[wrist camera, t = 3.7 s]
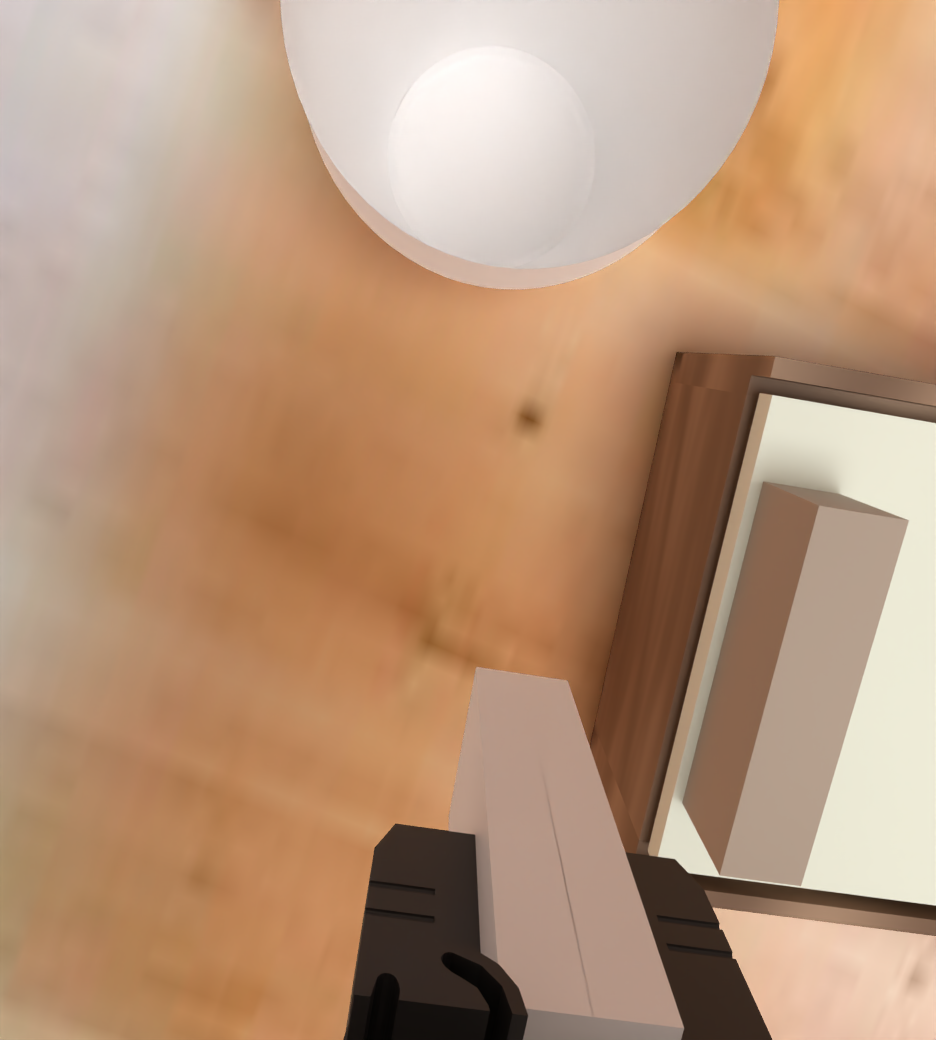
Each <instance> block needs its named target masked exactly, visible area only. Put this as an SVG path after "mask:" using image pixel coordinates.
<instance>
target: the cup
mask: <svg viewBox="0 0 936 1040" xmlns="http://www.w3.org/2000/svg"><path fill="white" fill-rule="evenodd" d="M280 5H281V21H282V29H283V36H284V44H285V49H286V53H287V58H288V62H289V67H290V71H291V74H292V77H293V81H294V84H295V87H296V90H297V93H298V96H299V99H300V101H301V104H302V106H303V108H304V111H305V113H306V116H307V119H308V122H309V125H310V128H311V131H312V134H313V138H314V141H315V143H316V145H317V148H318V150H319V153H320V155H321V157H322V160H323V162H324V164H325V166H326V168H327V170H328V171H329V173H330V175H331V177H332V179H333V181H334V183H335V184H336V186H337V187H338V189H339V190H340V192H341V193H342V195H343V196H344V198H345V199H346V201H347V202H348V203H349V204H350V206H351V207H352V208H353V209H354V211H355V212H356V213H357V214H358V216H359V217H360V218H361V219H362V220H363V221H364V222H365V223H366V224H367V225H368V226H369V227H370V228H371V229H372V230H373V232H374V233H376V234H377V235H378V236H379V237H380V238H381V239H383V240H384V241H385V242H386V243H387V244H388V245H390V246H391V247H392V248H394V249H395V250H397V251H398V252H399V253H401V254H402V255H404V256H405V257H407V258H408V259H410V260H411V261H413V262H415V263H417V264H419V265H420V266H422V267H424V268H426V269H428V270H430V271H432V272H434V273H437V274H439V275H441V276H444V277H446V278H449V279H452V280H456V281H459V282H462V283H466V284H470V285H475V286H480V287H486V288H495V289H532V288H543V287H548V286H553V285H558V284H563V283H566V282H570V281H573V280H576V279H579V278H583V277H585V276H587V275H590V274H592V273H594V272H597V271H599V270H601V269H603V268H605V267H607V266H609V265H611V264H613V263H614V262H616V261H618V260H620V259H621V258H623V257H624V256H626V255H627V254H629V253H630V252H632V251H633V250H635V249H636V248H637V247H639V246H640V245H641V244H642V243H643V242H645V241H646V240H647V239H648V238H650V237H651V236H652V235H653V234H654V233H655V232H656V231H657V230H658V229H659V228H660V227H661V226H662V225H663V224H665V223H666V222H667V221H669V220H670V219H671V218H672V217H673V216H675V215H676V214H677V213H678V212H680V211H681V210H682V209H683V208H684V207H686V206H687V205H688V204H689V203H690V202H691V201H692V200H693V199H694V198H695V197H696V196H697V195H698V194H699V193H700V192H701V191H702V190H703V189H704V187H705V186H706V185H707V184H708V183H709V181H710V180H711V179H712V178H713V177H714V175H715V174H716V173H717V172H718V171H719V169H720V168H721V166H722V165H723V164H724V162H725V161H726V159H727V158H728V156H729V155H730V153H731V152H732V151H733V149H734V147H735V146H736V144H737V142H738V140H739V139H740V137H741V135H742V133H743V131H744V130H745V128H746V126H747V124H748V122H749V119H750V117H751V115H752V113H753V111H754V108H755V106H756V104H757V102H758V99H759V96H760V93H761V90H762V87H763V85H764V82H765V79H766V75H767V72H768V68H769V64H770V60H771V56H772V52H773V46H774V40H775V35H776V29H777V19H778V7H779V0H280Z"/></svg>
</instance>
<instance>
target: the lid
mask: <svg viewBox="0 0 936 1040" xmlns="http://www.w3.org/2000/svg"><path fill="white" fill-rule="evenodd" d="M648 853H649V855H650V856H656V857H664V858H671V859H675V860H676V861H677V862H678V863H679V864H680V865H681V866H682V867H683V868H684V869H685V870H686V871H687V872H688V873H692V874H699V875H707V876H715V877H722V878H730V879H737V880H745V881H753V882H760V883H768V884H776V885H783V886H791V887H798V888H806V889H814V890H821V891H829V892H836V893H844V894H852V895H859V896H867V897H874V898H882V899H890V900H897V901H905V902H912V903H920V904H928V905H935V906H936V423H931V422H926V421H920V420H914V419H908V418H903V417H897V416H891V415H885V414H879V413H874V412H868V411H862V410H856V409H851V408H845V407H839V406H833V405H827V404H822V403H816V402H810V401H804V400H799V399H793V398H787V397H781V396H775V395H769V394H763V393H760V394H759V398H758V402H757V406H756V410H755V414H754V418H753V422H752V426H751V430H750V434H749V439H748V443H747V447H746V451H745V455H744V459H743V463H742V467H741V471H740V475H739V479H738V483H737V488H736V492H735V496H734V500H733V504H732V508H731V512H730V516H729V520H728V524H727V528H726V532H725V536H724V541H723V545H722V549H721V553H720V557H719V561H718V565H717V569H716V573H715V577H714V581H713V585H712V590H711V594H710V598H709V602H708V606H707V610H706V614H705V618H704V622H703V626H702V630H701V634H700V638H699V643H698V647H697V651H696V655H695V659H694V663H693V667H692V671H691V675H690V679H689V683H688V687H687V692H686V696H685V700H684V704H683V708H682V712H681V716H680V720H679V724H678V728H677V732H676V736H675V741H674V745H673V749H672V753H671V757H670V761H669V765H668V769H667V773H666V777H665V781H664V785H663V789H662V794H661V798H660V802H659V806H658V810H657V814H656V818H655V822H654V826H653V830H652V834H651V838H650V843H649V847H648Z"/></svg>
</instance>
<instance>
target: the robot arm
mask: <svg viewBox="0 0 936 1040" xmlns="http://www.w3.org/2000/svg"><path fill="white" fill-rule="evenodd" d="M344 1040H772V1038H771V1036H770V1034H769V1031H768V1029H767V1027H766V1025H765V1023H764V1020H763V1018H762V1016H761V1014H760V1012H759V1009H758V1007H757V1005H756V1003H755V1001H754V998H753V996H752V994H751V992H750V990H749V987H748V985H747V983H746V981H745V979H744V976H743V974H742V972H741V970H740V968H739V965H738V963H737V961H736V959H732V950H731V948H730V946H729V943H728V941H727V939H726V937H725V935H724V932H723V930H719V921H718V919H717V917H716V915H715V913H714V910H713V908H712V906H711V904H710V902H709V900H708V897H707V895H706V893H705V891H704V889H703V888H702V887H701V886H700V885H699V884H698V883H697V882H696V881H695V880H694V879H693V877H692V876H691V875H690V874H689V873H688V872H687V871H686V870H685V869H684V868H683V867H682V866H681V865H680V864H679V863H678V862H677V861H676V860H675V859H671V858H664V857H656V856H649V855H642V854H635V853H627V852H625V850H624V847H623V844H622V841H621V838H620V835H619V832H618V829H617V826H616V823H615V820H614V817H613V814H612V811H611V808H610V805H609V802H608V800H607V797H606V794H605V791H604V788H603V785H602V782H601V779H600V776H599V773H598V770H597V767H596V764H595V761H594V758H593V755H592V752H591V749H590V746H589V743H588V740H587V737H586V734H585V731H584V728H583V725H582V722H581V719H580V716H579V713H578V710H577V707H576V704H575V701H574V698H573V695H572V692H571V689H570V686H569V683H568V680H561V679H554V678H547V677H541V676H534V675H527V674H521V673H514V672H507V671H501V670H494V669H487V668H481V667H476V671H475V676H474V682H473V687H472V693H471V698H470V703H469V709H468V714H467V720H466V725H465V731H464V736H463V742H462V747H461V752H460V758H459V763H458V769H457V774H456V780H455V785H454V791H453V796H452V802H451V807H450V812H449V831H445V830H438V829H430V828H423V827H416V826H409V825H401V824H395V825H394V826H393V827H392V828H391V830H390V831H389V832H388V833H387V834H386V835H385V837H384V838H383V839H382V840H381V841H380V842H379V844H378V845H377V846H376V847H375V849H374V855H373V862H372V868H371V874H370V880H369V886H368V893H367V899H366V905H365V911H364V917H363V923H362V930H361V936H360V942H359V948H358V955H357V961H356V968H355V974H354V981H353V987H352V994H351V1000H350V1007H349V1013H348V1020H347V1027H346V1033H345V1036H344Z"/></svg>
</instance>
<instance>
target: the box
mask: <svg viewBox="0 0 936 1040" xmlns="http://www.w3.org/2000/svg"><path fill="white" fill-rule="evenodd" d="M760 393H763V394H769V395H775V396H781V397H787V398H793V399H799V400H804V401H810V402H816V403H822V404H827V405H833V406H839V407H845V408H851V409H856V410H862V411H868V412H874V413H879V414H885V415H891V416H897V417H903V418H908V419H914V420H920V421H926V422H931V423H936V384H930V383H924V382H919V381H913V380H907V379H901V378H896V377H890V376H884V375H879V374H873V373H867V372H862V371H856V370H850V369H845V368H839V367H833V366H828V365H822V364H816V363H811V362H805V361H799V360H794V359H788V358H782V357H777V356H756V355H731V354H707V353H682V352H677V354H676V358H675V363H674V367H673V372H672V376H671V381H670V385H669V390H668V395H667V399H666V404H665V408H664V413H663V417H662V422H661V426H660V431H659V435H658V440H657V444H656V449H655V454H654V458H653V463H652V467H651V472H650V476H649V481H648V485H647V490H646V494H645V499H644V503H643V508H642V512H641V517H640V522H639V526H638V531H637V535H636V540H635V544H634V549H633V553H632V558H631V562H630V567H629V571H628V576H627V581H626V585H625V590H624V594H623V599H622V603H621V608H620V612H619V617H618V621H617V626H616V630H615V635H614V640H613V644H612V649H611V653H610V658H609V662H608V667H607V671H606V676H605V680H604V685H603V689H602V694H601V699H600V703H599V708H598V712H597V717H596V721H595V726H594V730H593V735H592V739H591V744H590V749H591V752H592V755H593V758H594V761H595V764H596V767H597V770H598V773H599V776H600V779H601V782H602V785H603V788H604V791H605V794H606V797H607V800H608V802H609V805H610V808H611V811H612V814H613V817H614V820H615V823H616V826H617V829H618V832H619V835H620V838H621V841H622V844H623V847H624V850H625V852H627V853H635V854H642V855H649V853H648V847H649V843H650V838H651V834H652V830H653V826H654V822H655V818H656V814H657V810H658V806H659V802H660V798H661V794H662V789H663V785H664V781H665V777H666V773H667V769H668V765H669V761H670V757H671V753H672V749H673V745H674V741H675V736H676V732H677V728H678V724H679V720H680V716H681V712H682V708H683V704H684V700H685V696H686V692H687V687H688V683H689V679H690V675H691V671H692V667H693V663H694V659H695V655H696V651H697V647H698V643H699V638H700V634H701V630H702V626H703V622H704V618H705V614H706V610H707V606H708V602H709V598H710V594H711V590H712V585H713V581H714V577H715V573H716V569H717V565H718V561H719V557H720V553H721V549H722V545H723V541H724V536H725V532H726V528H727V524H728V520H729V516H730V512H731V508H732V504H733V500H734V496H735V492H736V488H737V483H738V479H739V475H740V471H741V467H742V463H743V459H744V455H745V451H746V447H747V443H748V439H749V434H750V430H751V426H752V422H753V418H754V414H755V410H756V406H757V402H758V398H759V394H760ZM649 856H650V855H649ZM689 874H690V875H691V876H692V877H693V879H694V880H695V881H696V882H697V883H698V884H699V885H700V886H701V887H702V888H703V889H704V891H705V893H706V895H707V897H708V900H709V902H710V904H711V906H712V907H715V908H722V909H730V910H738V911H746V912H753V913H761V914H769V915H777V916H784V917H792V918H800V919H808V920H815V921H823V922H831V923H839V924H847V925H854V926H862V927H870V928H878V929H885V930H893V931H901V932H909V933H916V934H924V935H932V936H936V906H935V905H928V904H920V903H912V902H905V901H897V900H890V899H882V898H874V897H867V896H859V895H852V894H844V893H836V892H829V891H821V890H814V889H806V888H798V887H791V886H783V885H776V884H768V883H760V882H753V881H745V880H737V879H730V878H722V877H715V876H707V875H699V874H692V873H689Z"/></svg>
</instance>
